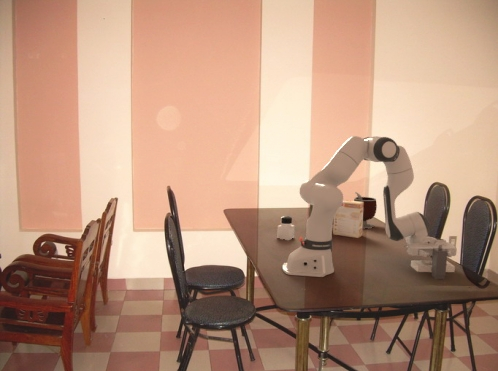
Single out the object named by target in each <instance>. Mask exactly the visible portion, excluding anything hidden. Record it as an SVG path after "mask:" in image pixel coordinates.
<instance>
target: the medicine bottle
mask: <svg viewBox="0 0 498 371" xmlns="http://www.w3.org/2000/svg"><path fill="white" fill-rule="evenodd" d="M295 228H296V227H295V224H293V217H291V216H288V215H284V216H281V217H280V224H279V225H277V230H276V232H277V234H276V238H280V239H279V240H283V239H285V240H284V241H291V240H292V238H293V239H295V230H296V229H295Z"/></svg>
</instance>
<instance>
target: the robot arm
mask: <svg viewBox="0 0 498 371" xmlns="http://www.w3.org/2000/svg"><path fill="white" fill-rule="evenodd" d="M363 160H364V161H369V162H375V163H381V162H382V163H383V164H384V167H385V170H386V171H385V172H386V173H387V175H386V176H387V181H386V184H385V185H384V187H383V195H382V196H383V207H384V218H385V219H384V220H385V222H384V223H385V224H384V228H385V234H386V236H387V238H388V239H390V240H392V241H394V242H399V241H401V240H404V239H405V242H406V245H404V246H403V249H404V250H406V253H407V254H408V255H409V256H413V257H416V256H417V257H419V256H420V257H424V258H429V257H432V255H433V248H438V247H439V245H442V248H443V249H444V250H446V251H447V258H452V257H455V256H457V253H458V252H457V246H455V245H453V244H452V243H450V242H447V240H446V239H444V238H437V237H432V236H429V233H430V224H429V221H428V219H427V217H426V216H425V215H424V214H422V213H421V212H419V211H415V212H414V211H413V212H411V213H408V214H405V215H402V216H399V217H396V216H397V214H396V204H395V202H396V200H397V198H398V197H399V196H400V195H401V194H402V193H403V192H404V191H406V190H407V189H408V188H409V187H410V186H411V185H412V184H413V183H414V178H415V175H414V174H415V173H414V170H413V166H412V162H411V159H410V156H409V154H408V152H407V150H406V148H405V147H404V146H402V145H398V144H397V142H396V141H395V140H394V139H393V138H390V137H387V136H367V137H365V138H362V137H361V136H356V135H354V136H351V137H349V138H348V139H347V140H346V141H345V142H344V143H343V144H342V145H341V146H340V147H339V148H338V149H337V150H336V152H335V153H334V155H333V156H332V157H331V158H330V160H329V161H328V162H327V164H326V165H325V166H324V167H323V168H321V169H320V170H319V171H318V172H317V173H316V174H315V175H313V176H312V177H311V178H310V179H308V180H305V181H304V182H303V183H302V184H301V185H300V187H299V195H300V198H302V199H303V201H304V202H305V203H307V204H309V205H310V204H311V205H313V209H312V213H311V216H310V217H309V216H308V218H307V220H306V223H305V224H306V227H305V229H306V230H305V231H306V232H305V237H304V236H300V237H299V238H298V241H299V242H300V246H299V247H298V248H296V249H294V250H293V251H292V252H290V253H289V255H288V257H287V261H286V262H284V263H283V264H282V269H281V270H282V272H283V273H284V274H286V275H290V276H301V277H302V276H303V277H317V278H323V277H325V276H327V275H331V274H333V273H335V268H334V264H333V257H332V256H333V255H332V254H333V253H332V252H333V246H334V245H333V244H334V243H333V237H332V236H333V230H332V228H333V225H334V224H333V219H334V215H335V213H336V210H337V209H338V208H339V207H340V206H341V204H342V202H343V200H344V194H343V192H342V191H341V189H339V187H338V186H340V185H342V184H344V183H346V182H347V181H349V179H350V177H351V176H352V175H353V174H354V172H355V171H356V169H357V168H358V167H359V165H361V163H362V162H363ZM332 224H333V225H332Z"/></svg>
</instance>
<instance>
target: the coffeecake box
mask: <svg viewBox="0 0 498 371" xmlns="http://www.w3.org/2000/svg"><path fill="white" fill-rule="evenodd" d="M363 205H364V202H359V201H354V200H348V199H347V200H346V199H343V202H342V204H341V206H340V207H339V208H338V209H337V210H336V213H335V215H334V224H333V225H332V228H333V230H332V235H334V236H335V235H336V236H343V237H349V238H356V239H359V238H361V237H362V236H363V228H362V225H363Z"/></svg>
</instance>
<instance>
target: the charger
mask: <svg viewBox="0 0 498 371" xmlns="http://www.w3.org/2000/svg"><path fill="white" fill-rule="evenodd" d="M431 257H432V259H431V261H432V268H431V272H430V273H431V277H432V278H433V279H435V280H445V277H446V273H447V272H446V262H447V261H448V257H447V251H446V250H444V249H443V248H442V245H439V247H438V248H433V255H432V256H431Z"/></svg>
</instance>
